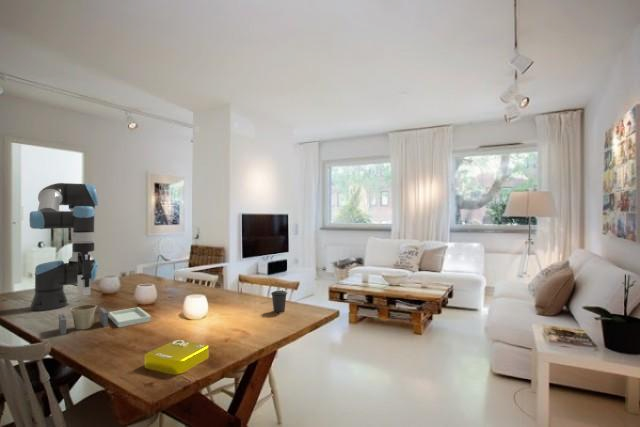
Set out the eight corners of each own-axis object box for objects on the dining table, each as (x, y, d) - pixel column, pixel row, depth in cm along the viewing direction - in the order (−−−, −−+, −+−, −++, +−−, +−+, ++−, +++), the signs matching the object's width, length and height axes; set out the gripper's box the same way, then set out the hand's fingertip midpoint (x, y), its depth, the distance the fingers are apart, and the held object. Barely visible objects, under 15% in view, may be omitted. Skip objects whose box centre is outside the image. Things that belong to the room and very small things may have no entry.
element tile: (141, 368, 108) (141, 353, 108) (177, 350, 122) (177, 337, 122) (178, 377, 103) (178, 361, 103) (211, 357, 116) (211, 343, 116)
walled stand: (58, 328, 144) (58, 314, 144) (103, 320, 155) (103, 307, 155) (61, 335, 137) (61, 320, 137) (107, 326, 147) (107, 312, 147)
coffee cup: (288, 309, 174) (288, 289, 174) (285, 313, 166) (285, 293, 166) (273, 308, 175) (273, 289, 175) (269, 313, 166) (269, 292, 166)
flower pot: (83, 332, 140) (83, 311, 140) (64, 330, 142) (64, 309, 142) (102, 324, 149) (102, 305, 149) (84, 323, 151) (84, 303, 151)
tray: (108, 317, 160) (108, 312, 160) (138, 311, 169) (138, 307, 169) (118, 327, 146) (118, 322, 146) (151, 321, 154) (151, 316, 154)
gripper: (69, 241, 152) (69, 289, 152) (77, 244, 134) (77, 298, 134) (89, 240, 157) (89, 286, 157) (99, 243, 139) (99, 295, 139)
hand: (83, 292), depth 145 cm, fingers open, 13 cm apart
